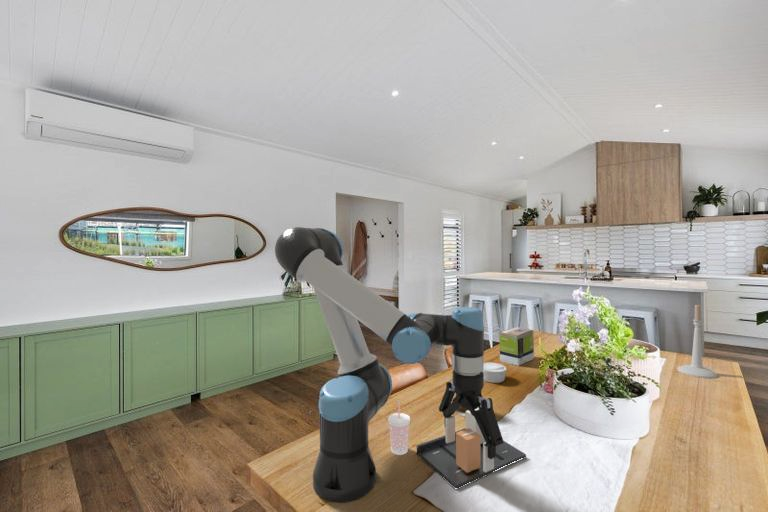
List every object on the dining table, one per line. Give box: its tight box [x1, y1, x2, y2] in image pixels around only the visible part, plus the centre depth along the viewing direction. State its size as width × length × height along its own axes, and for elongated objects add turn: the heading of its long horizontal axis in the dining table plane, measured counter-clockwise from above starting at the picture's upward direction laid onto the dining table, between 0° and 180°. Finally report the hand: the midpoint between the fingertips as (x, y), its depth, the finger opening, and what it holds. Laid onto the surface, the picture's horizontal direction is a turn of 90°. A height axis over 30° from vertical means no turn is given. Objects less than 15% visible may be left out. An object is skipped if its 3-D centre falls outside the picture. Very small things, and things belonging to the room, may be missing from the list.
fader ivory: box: [465, 407, 485, 443], centre depth 99 cm, size 4×4×8 cm
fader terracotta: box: [456, 428, 481, 473], centre depth 88 cm, size 4×4×8 cm
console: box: [416, 427, 527, 489], centre depth 94 cm, size 24×16×2 cm, turn 119°
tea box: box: [499, 326, 535, 367], centre depth 171 cm, size 15×10×15 cm
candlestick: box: [677, 303, 718, 379], centre depth 152 cm, size 13×13×30 cm
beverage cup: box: [387, 399, 411, 456], centre depth 97 cm, size 6×6×14 cm
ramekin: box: [482, 362, 507, 384], centre depth 148 cm, size 11×11×5 cm
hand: (468, 454), depth 88 cm, fingers open, 13 cm apart
